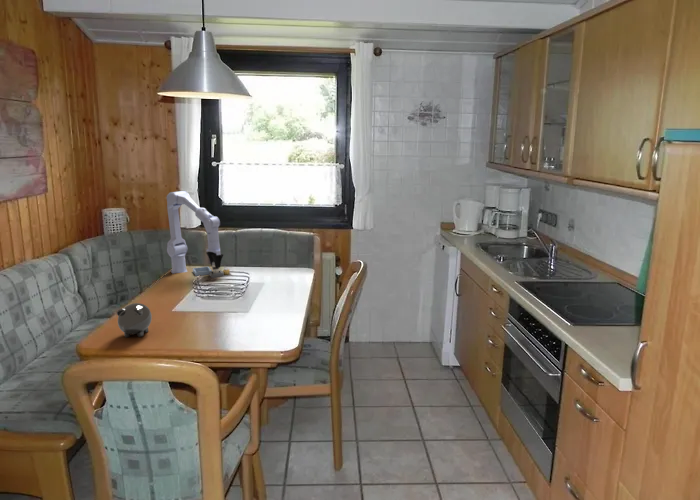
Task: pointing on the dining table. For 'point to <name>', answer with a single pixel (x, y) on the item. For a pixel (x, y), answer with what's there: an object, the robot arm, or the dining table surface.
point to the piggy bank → (134, 319)
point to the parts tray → (202, 269)
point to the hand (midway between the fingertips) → (215, 266)
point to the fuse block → (220, 273)
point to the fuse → (214, 268)
